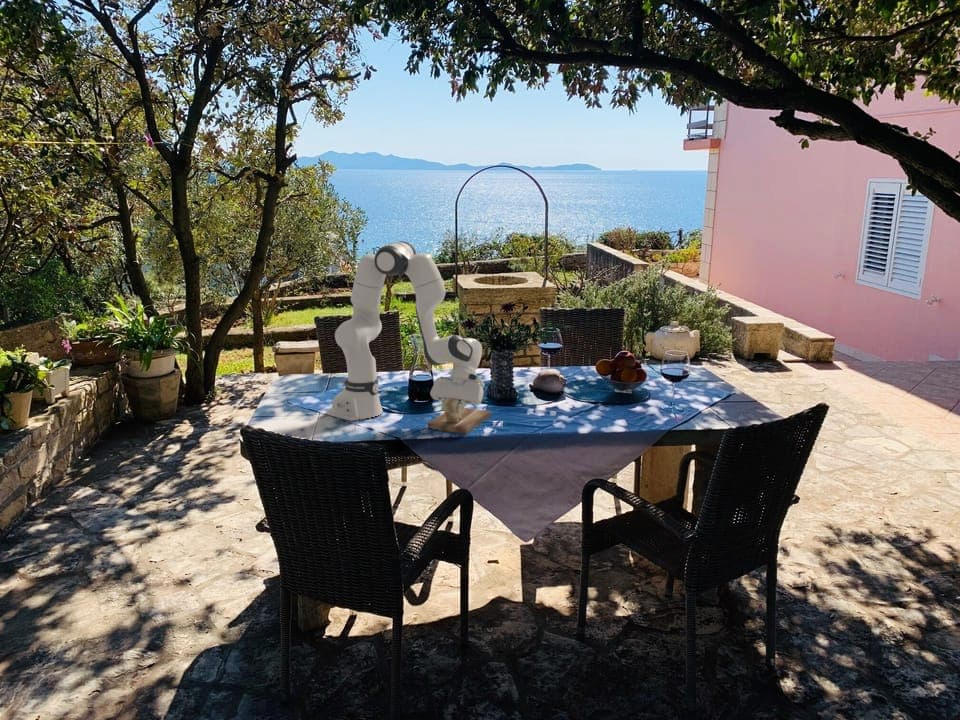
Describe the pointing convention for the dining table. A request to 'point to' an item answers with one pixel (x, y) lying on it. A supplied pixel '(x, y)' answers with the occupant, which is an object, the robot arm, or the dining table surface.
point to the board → (461, 421)
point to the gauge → (451, 410)
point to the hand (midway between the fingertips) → (450, 411)
